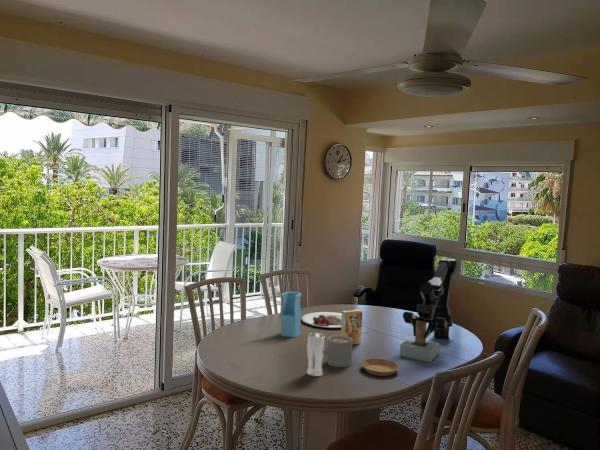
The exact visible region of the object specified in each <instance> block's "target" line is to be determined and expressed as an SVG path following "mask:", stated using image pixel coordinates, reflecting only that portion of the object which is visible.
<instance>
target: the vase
mask: <svg viewBox="0 0 600 450" xmlns="http://www.w3.org/2000/svg"><path fill="white" fill-rule="evenodd" d="M280 297H281V300H282V308H281V313H280V315H279V316H280V318H279V319H280V323H281V331H280V332H281V333H280V336H281V337H287V338H296V337H298V336H299V335H301V334H302V331H301V320H302V316H303V315H302V314H303V313H302V310H301V306H300V303H301V301H300V300H301V297H302V293H301V292H295V291H286V292H283V293H281V295H280Z"/></svg>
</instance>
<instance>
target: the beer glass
mask: <svg viewBox="0 0 600 450" xmlns="http://www.w3.org/2000/svg"><path fill="white" fill-rule="evenodd" d="M306 342H307V343H306V351H307V360H308V367H307V371H306V372H307V373H306V374H307V375H308V376H310V377H321V376H323V375H324V369H323V363H324V358H325V353H326V334H324V333H321V332H309V333H308V334H307V341H306Z"/></svg>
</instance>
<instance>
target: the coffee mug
mask: <svg viewBox="0 0 600 450" xmlns="http://www.w3.org/2000/svg"><path fill="white" fill-rule="evenodd" d="M352 342H353V340H352V338H350V337H348V336H342V335H341V334H339V335H338V334H337V335H334V334H333V335H330V336H329V337H328V338H327V354H326V355H327V358H326V363H327V364H328V365H329V366H331V367H336V368H347V367H350V366H351V365H352V361H353V360H352V359H353V344H352Z"/></svg>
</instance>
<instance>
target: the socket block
mask: <svg viewBox="0 0 600 450" xmlns="http://www.w3.org/2000/svg"><path fill="white" fill-rule="evenodd" d="M399 347H400V350H399V352H400V353H399V356H400V357H404V358H408V359H413V360H416V361H421V362H426V363H431V362H432V361H433V360H434V359H436V357H437V356H438V355H439V354H440V342H436V341H432V340H431V341H430V340H426V341H425V347H423V346H418V345H415V337H410V338H407V339H406V340H405V341H404V342H402V343H400V346H399Z"/></svg>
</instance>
